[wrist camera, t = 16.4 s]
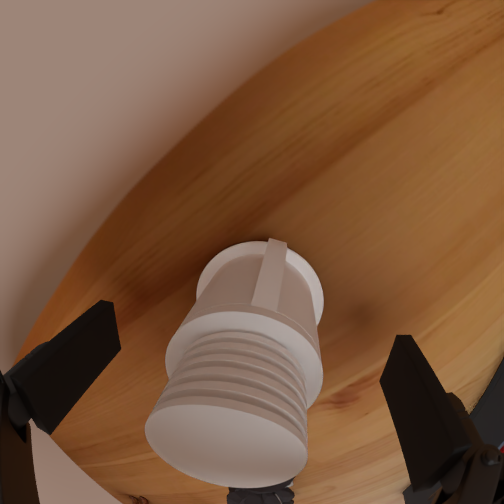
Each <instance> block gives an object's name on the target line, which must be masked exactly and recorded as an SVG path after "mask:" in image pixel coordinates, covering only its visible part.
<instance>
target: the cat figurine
mask: <svg viewBox="0 0 504 504" xmlns="http://www.w3.org/2000/svg"><path fill="white" fill-rule="evenodd" d="M130 498H131V499H132V500H133V504H139V502H138V500H137V499H136V498H134V497H132V496H130ZM139 498H141V499H142V501H143V504H149V503H148V501H147V500H146V499H145V498H143V497H139Z"/></svg>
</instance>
